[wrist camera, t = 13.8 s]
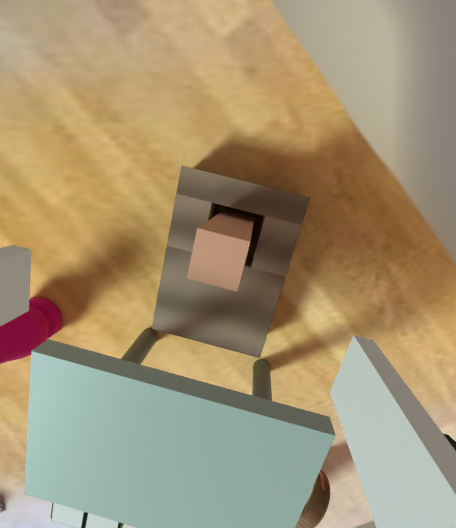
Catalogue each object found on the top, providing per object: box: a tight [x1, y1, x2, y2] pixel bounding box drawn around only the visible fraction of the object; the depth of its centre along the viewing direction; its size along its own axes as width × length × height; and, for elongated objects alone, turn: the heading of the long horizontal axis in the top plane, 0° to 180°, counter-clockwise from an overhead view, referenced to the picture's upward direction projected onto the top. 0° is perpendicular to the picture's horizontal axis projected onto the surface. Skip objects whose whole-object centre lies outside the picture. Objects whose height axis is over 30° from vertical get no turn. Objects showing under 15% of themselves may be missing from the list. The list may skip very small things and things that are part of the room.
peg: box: [187, 211, 254, 292], centre depth 29 cm, size 4×4×16 cm
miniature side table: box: [24, 329, 335, 528], centre depth 30 cm, size 13×20×22 cm, turn 76°
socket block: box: [152, 166, 310, 358], centre depth 35 cm, size 20×14×5 cm
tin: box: [295, 470, 330, 528], centre depth 42 cm, size 15×3×8 cm, turn 137°
